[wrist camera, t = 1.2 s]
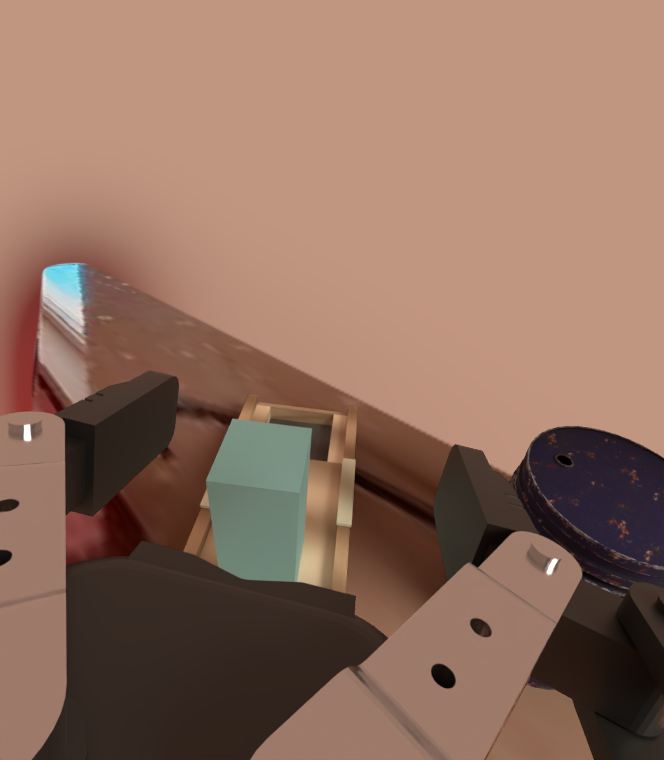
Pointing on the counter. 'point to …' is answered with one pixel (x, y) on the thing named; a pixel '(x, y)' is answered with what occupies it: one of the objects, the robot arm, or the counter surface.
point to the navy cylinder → (597, 505)
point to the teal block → (260, 499)
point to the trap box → (308, 492)
